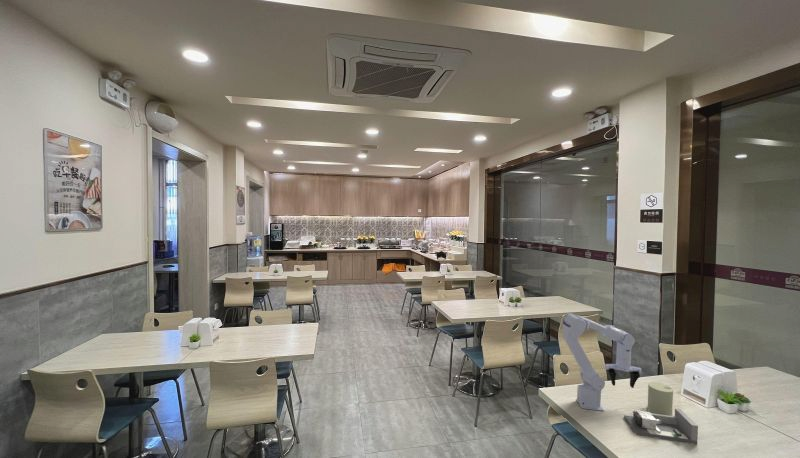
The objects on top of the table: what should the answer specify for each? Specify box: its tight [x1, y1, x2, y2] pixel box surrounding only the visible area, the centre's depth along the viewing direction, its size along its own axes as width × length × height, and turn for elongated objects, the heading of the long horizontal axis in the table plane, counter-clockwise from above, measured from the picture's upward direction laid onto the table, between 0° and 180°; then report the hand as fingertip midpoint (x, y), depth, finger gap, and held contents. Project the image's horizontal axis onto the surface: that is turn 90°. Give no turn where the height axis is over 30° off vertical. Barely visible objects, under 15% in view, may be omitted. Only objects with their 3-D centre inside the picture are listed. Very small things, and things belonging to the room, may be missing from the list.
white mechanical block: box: [634, 409, 662, 434], centre depth 138 cm, size 9×10×4 cm
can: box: [646, 381, 674, 416], centre depth 153 cm, size 9×9×12 cm
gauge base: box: [623, 408, 699, 445], centre depth 139 cm, size 21×12×7 cm, turn 76°
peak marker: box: [673, 429, 681, 437], centre depth 133 cm, size 1×3×1 cm, turn 166°
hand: (622, 385), depth 157 cm, fingers open, 7 cm apart
